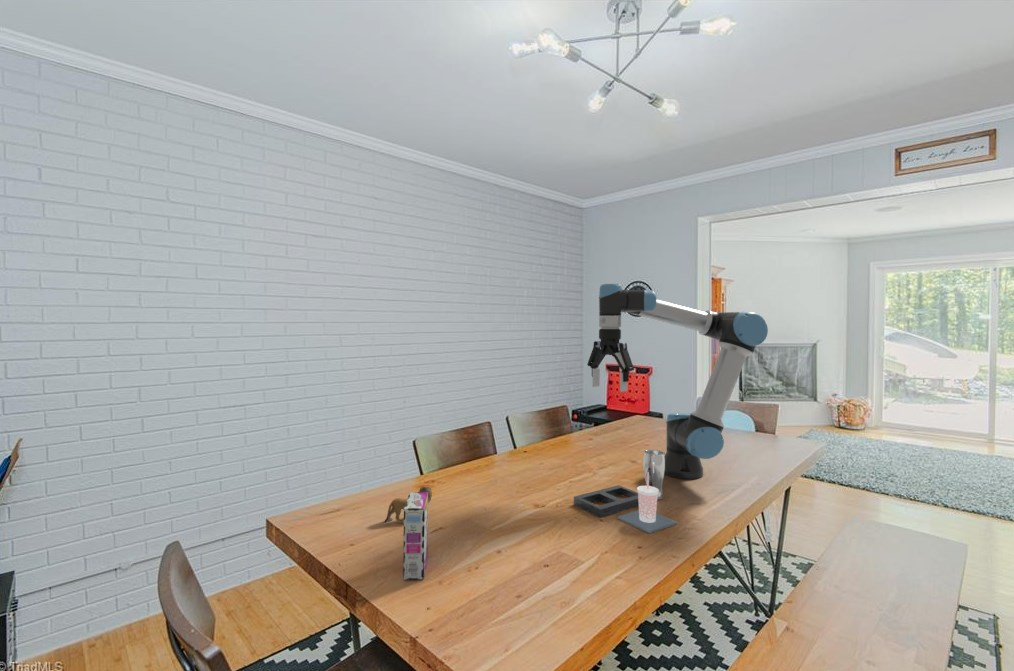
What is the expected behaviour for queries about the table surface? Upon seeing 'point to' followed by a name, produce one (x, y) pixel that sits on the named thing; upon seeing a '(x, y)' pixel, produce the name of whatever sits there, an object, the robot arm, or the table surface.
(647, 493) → the beverage cup
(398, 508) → the lion figurine
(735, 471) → the table surface
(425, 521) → the candy bar box
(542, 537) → the table surface
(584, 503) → the dark grey slotted frame
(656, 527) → the slate mat
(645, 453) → the silver metal tumbler
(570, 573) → the table surface
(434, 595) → the table surface
